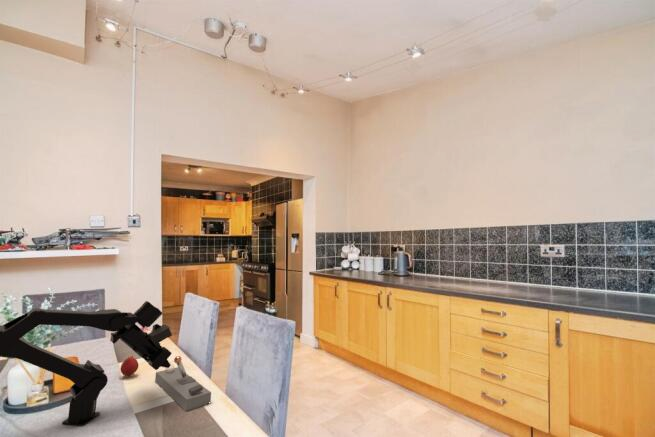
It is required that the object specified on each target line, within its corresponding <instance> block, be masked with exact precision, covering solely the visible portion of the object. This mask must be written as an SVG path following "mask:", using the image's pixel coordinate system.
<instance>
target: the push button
mask: <svg viewBox="0 0 655 437" xmlns="http://www.w3.org/2000/svg"><path fill="white" fill-rule="evenodd" d="M170 365H171V366H170V367H169V368H165V369H164V370H165V372H166V373H172V372H174V368H175V365H173V364H170Z"/></svg>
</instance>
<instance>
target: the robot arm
mask: <svg viewBox="0 0 655 437" xmlns="http://www.w3.org/2000/svg"><path fill="white" fill-rule="evenodd" d="M162 315H163V312H162V311H161V310H160V309H159V308H158V307H156V306H154V305H153V304H152V303H151V302H150V301H148V300H146V301H144V303H143V304H142V305H140V307H139V308H138V309H137V310H136V311H135V312H134V313H133V312H125V311H123V312H122V311H120V310H118V309H116V308H113V309H112V308H111V309H110V308H109V309H101V310H95V311H83V310H82V311H79V310H78V311H77V310H63V309H49V308H48V309H47V308H46V309H45V308H44V309H43V308H41V307H37V308H35V307H34V308H32V309H30V310H29V311H28V312H26V313H24V314H21V315H19V316H17V317H16V318H13V319H11V320H9V321H8V322H6V323H5V324H2V325H0V358H8V359H16V360H17V359H18V360H20V361H23V362H26V363H29V364H31V365H33V366H35V367H38V368H41V369H43V370H45V371H48V372H51V373H53V374H54V375H58V376H60V377H63V378H65V379H67V380H70V381H71V382H72V383H73V384H72V385H71V386H70V387H69V390H70V394H71V395H72V398H71V400H70V401H69V407H68V408H69V409H68V417H67V418H66V419H65V420H63V421H62V422H61V424H62V425H72V426H86V425H87V424H88V423H90V422H91V421H93V420H94V419H95V418H97V417H98V416H100V415H101V412H98V411H96V410H97V402H98V398H99V395H100V393H101V391H103V389H104V388H105V387H106V386H107V384H108V376H107V374H106V373H105V370H104V368H103V367H102V366H101V365H100V364H97V363H93V362H92V361H90V360H89V359H87V360H86V362H84V363H77V362H74V361H72V360H70V359H68V358H66V357H63V356H60V355H58V354H56V353H55V352H52V351H49V350H47V349H45V348H42V347H40V346H38V345H35V344H33V343H31V342H29V341H28V340H27V339H25V338H24V337H25V336H26V335H27V334H29V333H30V332H32V330H34V329H35V328H37V327H38V326H61V327H62V326H66V327H71V326H72V327H90V328H95V329H99V330H102V331H107V332H111V333H110V342H111V343H112V344H116V343H117V342H118V341H119V340H120V341H121V342H123V343H124V344H125V345H126V346H128V348H129V349H131V350H132V351H134V353H135V354H136V355H137V356H139V357H141V358H142V359H143V360H144V361H145V362H146V363H148V364H147V365H149V366H150V367H151V368H153V369H154V370H155V371H158V370H159V369H160V368H165V369H166V368H169V367H170V366H171V365H172V364H170V361H169V360H168V359H169V357H170V356H171V355H172V351H170V350H169V349H168V348H167V347H165V346H162V345H161V342H163V341H164V340H166V339H168V338H170V337H172V336H173V334H172V332H171V329H170V326H168V325H166V324H162V325H160V324H158V323H155V322H156V321H157V320H158V319H159V318H160V317H161V316H162ZM136 323H137V324H138V325H137V324H136ZM154 323H155V324H154ZM139 326H140V327H139ZM141 327H142V328H143V329H144V328H145V327H146V328H150V327H152V330H150V331H151V332H149V333H148V332H147V331H144V330H143V329H142V328H141Z"/></svg>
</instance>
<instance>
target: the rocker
mask: <svg viewBox="0 0 655 437" xmlns="http://www.w3.org/2000/svg"><path fill="white" fill-rule="evenodd" d="M200 384H201V383H200ZM200 384H199V385H197V386H195V387H192V388H190V389H189V393H190V394H192V395H193V394H195V393H197V392H199V391H201V390H203V387H204V386H203V385H202V384H201V385H202V386H203V387H202V386H201V385H200Z"/></svg>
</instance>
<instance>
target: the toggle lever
mask: <svg viewBox="0 0 655 437" xmlns="http://www.w3.org/2000/svg"><path fill="white" fill-rule="evenodd" d="M173 363H175V364H176V365H177V367H178V368H179V371H180V373H181V375H182V377H183V378H184V377H186V376H187V374H188V373H187V371H186V369H185V366H184V365H183V362H182V357H181V356H180V355H177V356H175V357H174V359H173Z"/></svg>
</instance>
